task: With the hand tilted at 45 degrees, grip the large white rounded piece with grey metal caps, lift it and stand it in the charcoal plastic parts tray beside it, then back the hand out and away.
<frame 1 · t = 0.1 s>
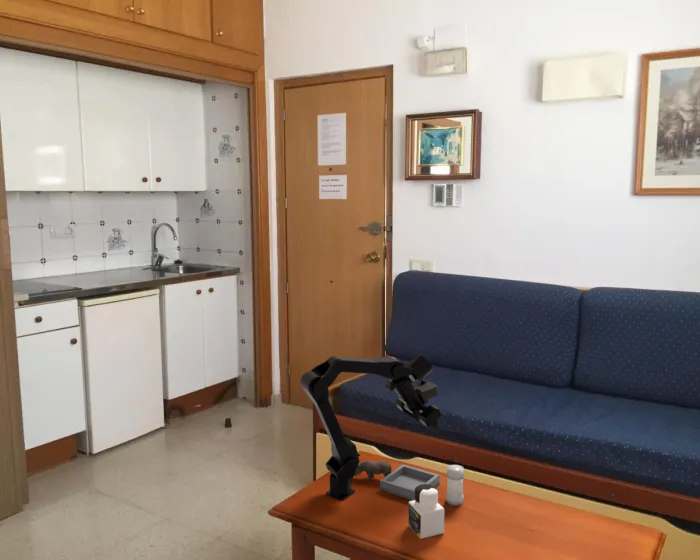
hand: (430, 427, 201), 15 cm above the table, tool tilted 35°, fingers open, 9 cm apart
white rounded piece: (454, 501, 185), on the table
rhino figurine: (370, 479, 200), on the table
parts tray: (410, 487, 194), on the table
medicine bottle: (426, 530, 171), on the table
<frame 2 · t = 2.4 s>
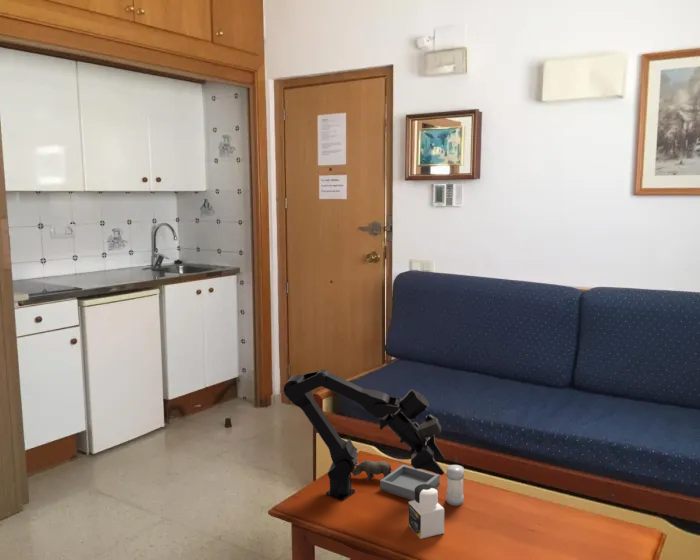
hand: (443, 466, 184), 10 cm above the table, tool tilted 45°, fingers open, 9 cm apart
nothing on the table moved.
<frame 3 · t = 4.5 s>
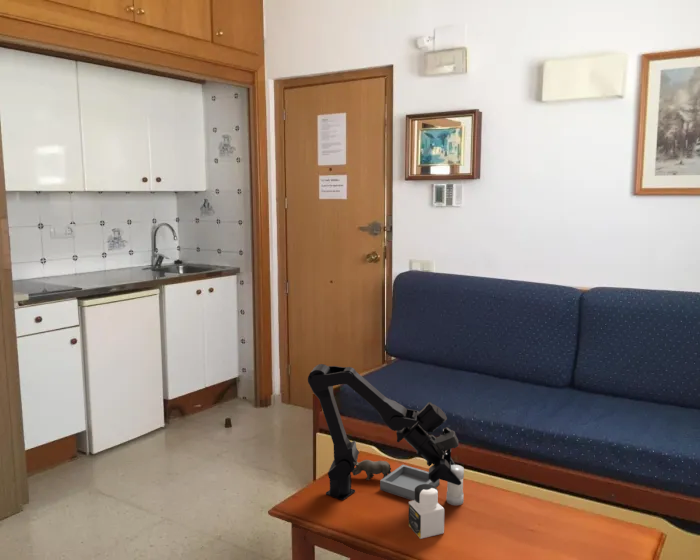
hand: (460, 479, 184), 7 cm above the table, tool tilted 45°, fingers closed on white rounded piece, 5 cm apart
white rounded piece: (455, 501, 185), on the table, touching gripper
everything else where it was.
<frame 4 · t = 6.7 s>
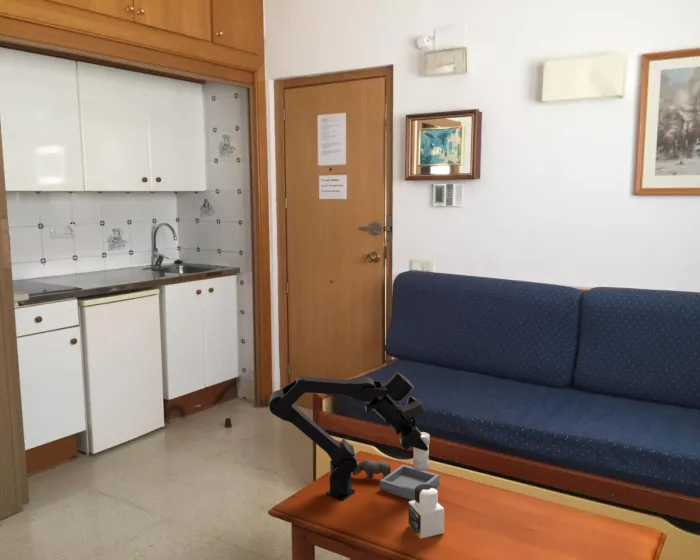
hand: (425, 446, 190), 14 cm above the table, tool tilted 45°, fingers closed on white rounded piece, 5 cm apart
white rounded piece: (420, 467, 191), point 7 cm above the table, touching gripper
everything else where it was.
when the fingers open (9 cm above the table, at t = 8.9 s): white rounded piece drops 1 cm, resting on parts tray.
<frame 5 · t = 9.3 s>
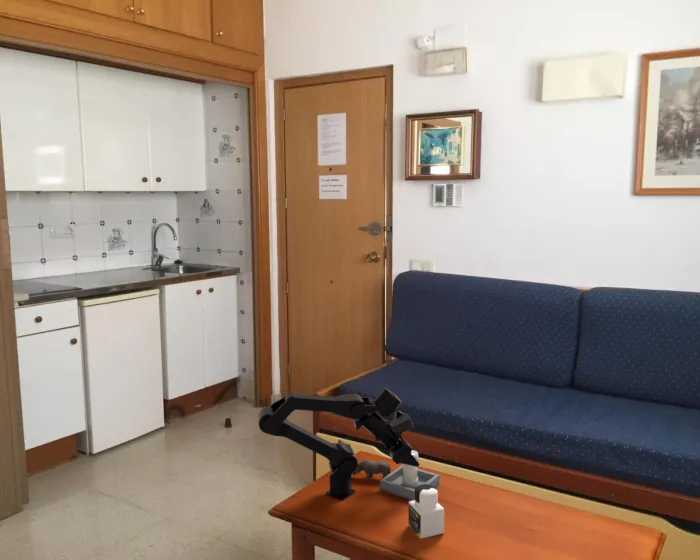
hand: (414, 459, 193), 9 cm above the table, tool tilted 45°, fingers open, 9 cm apart
white rounded piece: (410, 484, 194), point 1 cm above the table, touching parts tray
everything else where it was.
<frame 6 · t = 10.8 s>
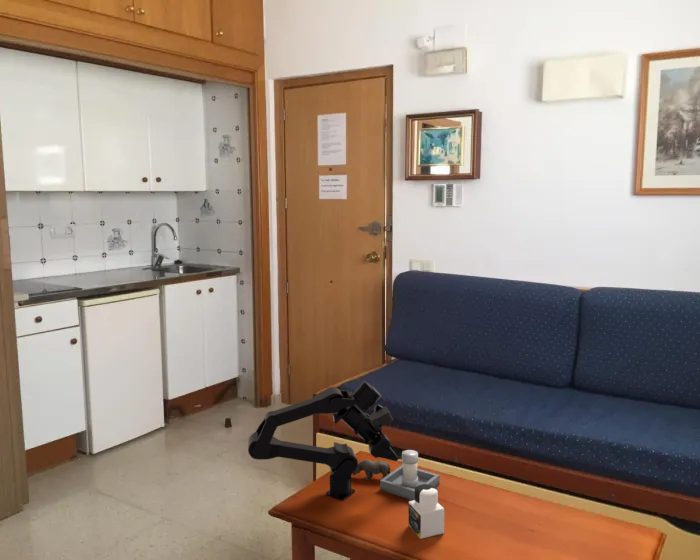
hand: (394, 453, 192), 11 cm above the table, tool tilted 45°, fingers open, 9 cm apart
nothing on the table moved.
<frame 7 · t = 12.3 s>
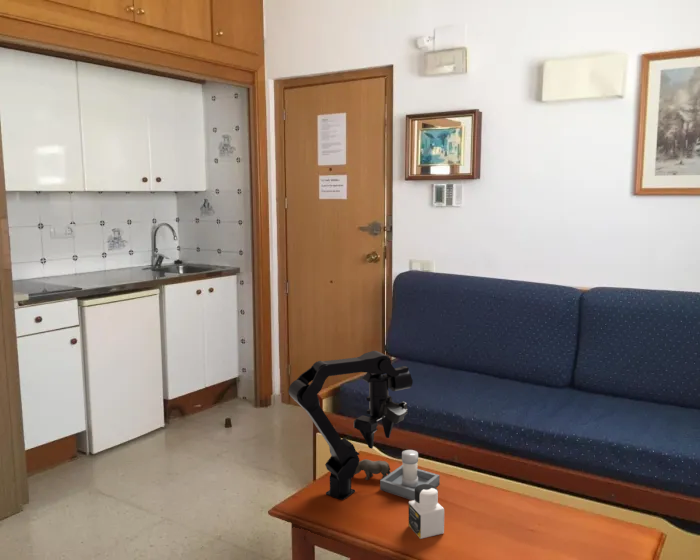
hand: (379, 442, 195), 13 cm above the table, tool pointing down, fingers open, 9 cm apart
nothing on the table moved.
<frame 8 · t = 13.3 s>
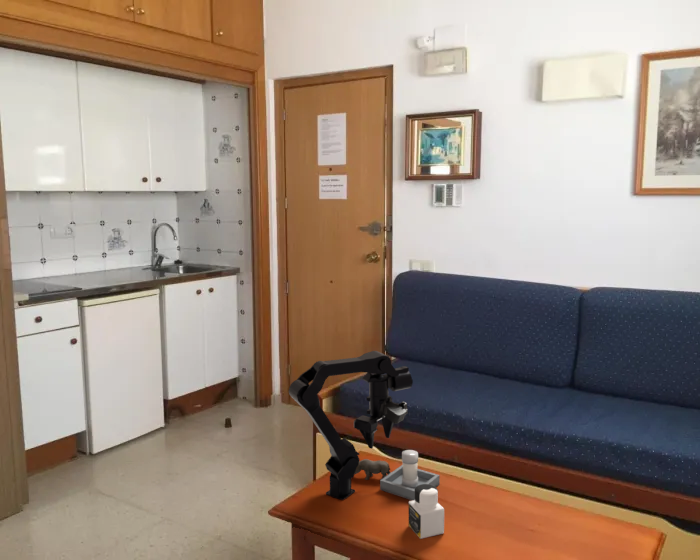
hand: (379, 442, 195), 13 cm above the table, tool pointing down, fingers open, 9 cm apart
nothing on the table moved.
at the end: white rounded piece inside the target area on the parts tray (0.0 cm from its centre), point 0.8 cm above the parts tray's base; white rounded piece tilted 0°; the gripper is holding nothing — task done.
